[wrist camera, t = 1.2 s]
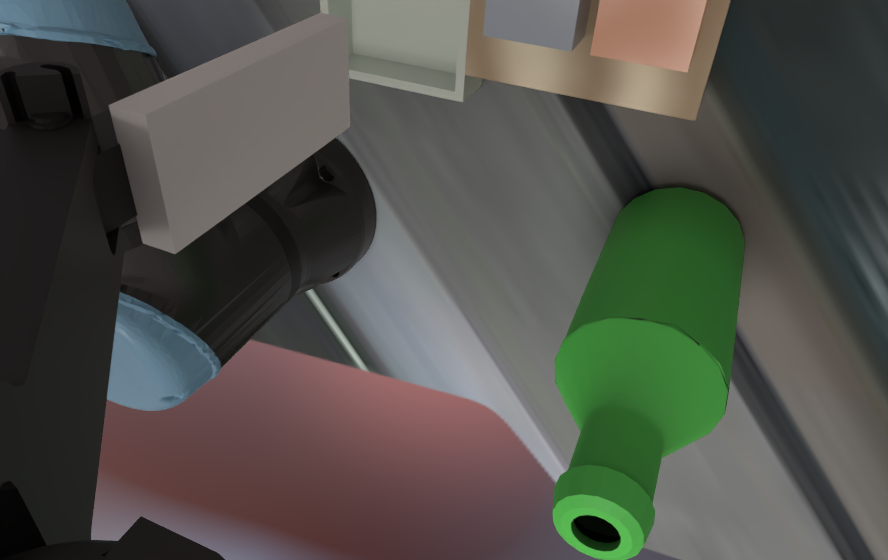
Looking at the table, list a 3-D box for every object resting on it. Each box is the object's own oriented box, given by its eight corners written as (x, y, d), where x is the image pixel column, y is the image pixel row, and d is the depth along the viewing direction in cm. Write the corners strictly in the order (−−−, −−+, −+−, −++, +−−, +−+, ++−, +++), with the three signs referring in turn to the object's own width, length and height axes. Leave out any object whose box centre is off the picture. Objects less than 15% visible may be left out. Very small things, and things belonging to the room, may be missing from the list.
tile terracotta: (602, 39, 37) (589, 54, 35) (621, -59, 34) (608, -50, 32) (694, 55, 36) (687, 72, 34) (722, -46, 33) (716, -35, 31)
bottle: (615, 176, 46) (489, 434, 27) (754, 186, 42) (721, 488, 24) (611, 284, 50) (503, 567, 32) (736, 300, 47) (697, 628, 28)
